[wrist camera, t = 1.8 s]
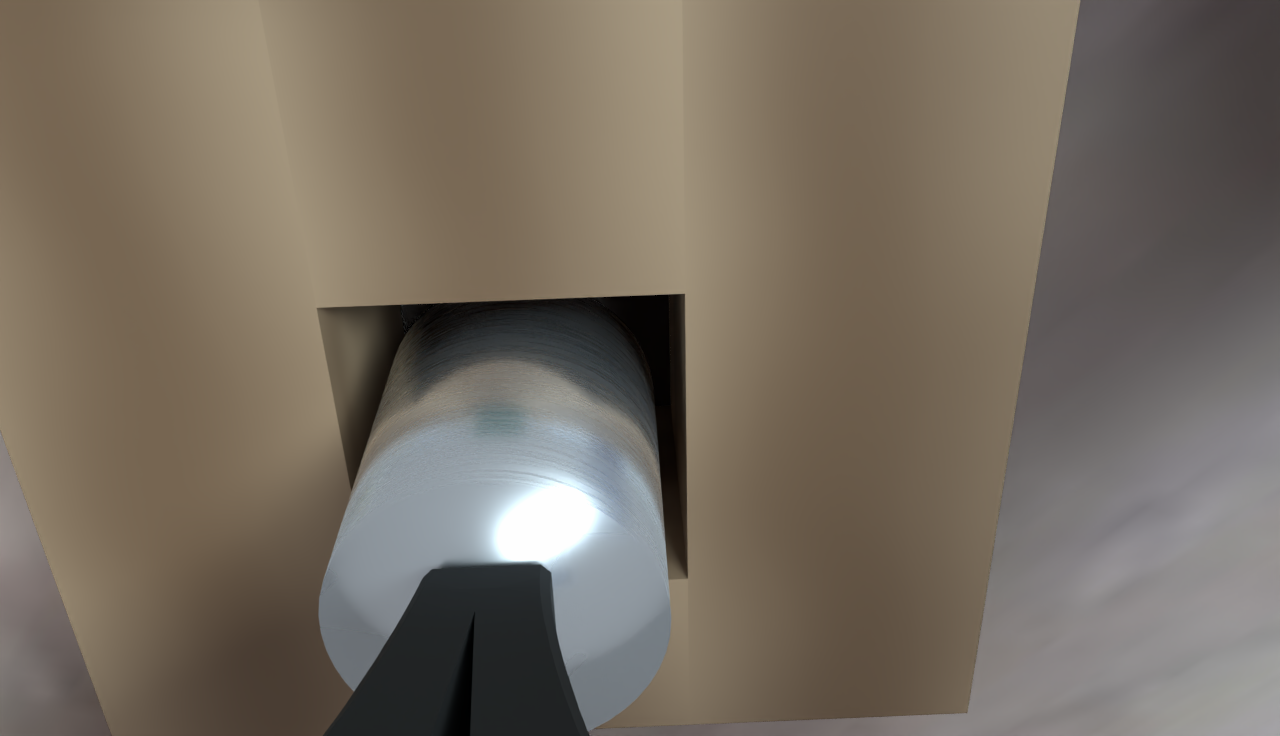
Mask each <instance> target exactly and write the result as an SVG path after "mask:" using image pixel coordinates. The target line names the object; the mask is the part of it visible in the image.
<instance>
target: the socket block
mask: <svg viewBox="0 0 1280 736" xmlns="http://www.w3.org/2000/svg"><path fill="white" fill-rule="evenodd" d="M1079 6H1080V0H0V431H1V434H2V436H3V439H4V442H5V445H6V447H7V450H8V453H9V456H10V458H11V461H12V464H13V467H14V469H15V472H16V475H17V478H18V480H19V483H20V486H21V489H22V491H23V494H24V497H25V500H26V502H27V505H28V508H29V511H30V513H31V516H32V519H33V522H34V524H35V527H36V530H37V532H38V535H39V538H40V541H41V543H42V546H43V549H44V552H45V554H46V557H47V560H48V563H49V565H50V568H51V571H52V574H53V576H54V579H55V582H56V585H57V587H58V590H59V593H60V596H61V598H62V601H63V604H64V607H65V609H66V612H67V615H68V618H69V620H70V623H71V626H72V629H73V631H74V634H75V637H76V639H77V642H78V645H79V648H80V650H81V653H82V656H83V659H84V661H85V664H86V667H87V670H88V672H89V675H90V678H91V681H92V683H93V686H94V689H95V692H96V694H97V697H98V700H99V703H100V705H101V708H102V711H103V714H104V716H105V719H106V722H107V725H108V727H109V730H110V733H111V736H323V735H324V733H325V732H326V731H327V729H328V728H329V727H330V725H331V724H332V723H333V721H334V720H335V719H336V717H337V716H338V714H339V713H340V712H341V710H342V709H343V707H344V706H345V705H346V703H347V702H348V700H349V699H350V697H351V696H352V694H353V693H354V691H353V690H352V689H351V688H350V687H349V686H348V685H347V684H346V682H345V681H344V680H343V678H342V677H341V675H340V674H339V673H338V671H337V670H336V668H335V667H334V665H333V663H332V661H331V659H330V657H329V655H328V653H327V651H326V648H325V645H324V642H323V638H322V635H321V630H320V623H319V597H320V592H321V588H322V583H323V579H324V576H325V573H326V570H327V567H328V564H329V561H330V557H331V554H332V551H333V548H334V545H335V542H336V539H337V536H338V533H339V529H340V526H341V523H342V520H343V517H344V514H345V511H346V508H347V504H348V501H349V498H350V495H351V492H352V489H353V486H354V483H355V479H356V476H357V473H358V470H359V467H360V464H361V461H362V458H363V454H364V451H365V448H366V445H367V442H368V439H369V436H370V433H371V430H372V426H373V423H374V420H375V417H376V414H377V411H378V408H379V405H380V401H381V398H382V395H383V392H384V389H385V386H386V383H387V380H388V376H389V373H390V370H391V367H392V364H393V361H394V358H395V356H396V353H397V351H398V348H399V346H400V344H401V342H402V340H403V339H404V337H405V334H404V327H403V320H402V314H401V307H400V305H403V304H429V303H456V302H482V301H508V300H534V299H560V298H586V297H612V296H638V295H664V294H669V340H670V397H671V405H667V406H655V412H656V425H657V438H658V451H659V464H660V477H661V490H662V503H663V516H664V529H665V542H666V555H667V568H668V581H669V594H670V607H671V631H670V639H669V643H668V647H667V651H666V654H665V656H664V659H663V661H662V663H661V666H660V668H659V670H658V671H657V673H656V675H655V676H654V678H653V679H652V681H651V683H650V684H649V685H648V686H647V688H646V689H645V690H644V691H643V692H642V693H641V695H640V696H639V697H638V698H637V699H636V700H635V701H634V702H632V703H631V704H630V705H629V706H628V707H627V708H626V709H625V710H623V711H622V712H620V713H619V714H617V715H616V716H615V717H613V718H612V719H610V720H609V721H607V722H605V723H603V724H601V725H599V726H598V727H596V728H594V729H601V728H625V727H648V726H672V725H695V724H719V723H743V722H766V721H790V720H813V719H837V718H860V717H884V716H907V715H931V714H954V713H967V712H968V706H969V699H970V693H971V687H972V680H973V674H974V668H975V662H976V655H977V649H978V643H979V636H980V630H981V624H982V617H983V611H984V605H985V599H986V592H987V586H988V580H989V573H990V567H991V561H992V554H993V548H994V542H995V536H996V529H997V523H998V517H999V510H1000V504H1001V498H1002V491H1003V485H1004V479H1005V473H1006V466H1007V460H1008V454H1009V447H1010V441H1011V435H1012V428H1013V422H1014V416H1015V410H1016V403H1017V397H1018V391H1019V384H1020V378H1021V372H1022V365H1023V359H1024V353H1025V347H1026V340H1027V334H1028V328H1029V321H1030V315H1031V309H1032V302H1033V296H1034V290H1035V284H1036V277H1037V271H1038V265H1039V258H1040V252H1041V246H1042V240H1043V233H1044V227H1045V221H1046V214H1047V208H1048V202H1049V195H1050V189H1051V183H1052V177H1053V170H1054V164H1055V158H1056V151H1057V145H1058V139H1059V132H1060V126H1061V120H1062V114H1063V107H1064V101H1065V95H1066V88H1067V82H1068V76H1069V69H1070V63H1071V57H1072V51H1073V44H1074V38H1075V32H1076V25H1077V19H1078V13H1079Z"/></svg>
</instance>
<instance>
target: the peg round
mask: <svg viewBox="0 0 1280 736" xmlns="http://www.w3.org/2000/svg"><path fill="white" fill-rule="evenodd" d="M540 564H541V565H542V566H544V567H545V568H546V569H547V570H549V571H550V572H551V574H552V585H553V597H554V609H555V620H556V632H557V637H558V641H559V645H560V650H561V653H562V657H563V660H564V664H565V667H566V671H567V674H568V677H569V680H570V683H571V686H572V689H573V692H574V695H575V698H576V701H577V704H578V707H579V710H580V712H581V715H582V717H583V720H584V723H585V725H586V728H587V730H588V731H590V730H592V729H594V728H596V727H598V726H599V725H601V724H603V723H605V722H607V721H609V720H610V719H612V718H613V717H615V716H616V715H617V714H619V713H620V712H622V711H623V710H625V709H626V708H627V707H628V706H629V705H630V704H631V703H632V702H634V701H635V700H636V699H637V698H638V697H639V696H640V695H641V693H642V692H643V691H644V690H645V689H646V688H647V686H648V685H649V684H650V683H651V681H652V679H653V678H654V676H655V675H656V673H657V671H658V670H659V668H660V666H661V663H662V661H663V659H664V656H665V654H666V651H667V647H668V643H669V639H670V631H671V607H670V594H669V581H668V568H667V555H666V542H665V529H664V516H663V503H662V490H661V477H660V464H659V451H658V438H657V425H656V412H655V399H654V388H653V378H652V374H651V371H650V367H649V363H648V361H647V358H646V356H645V354H644V351H643V349H642V348H641V346H640V344H639V343H638V341H637V339H636V338H635V336H634V335H633V334H632V332H631V331H630V330H629V329H628V327H627V326H626V325H625V324H624V323H623V322H622V321H621V320H620V319H619V318H618V317H617V316H616V315H615V314H614V313H613V312H612V311H610V310H609V309H607V308H606V307H605V306H603V305H602V304H600V303H599V302H598V301H596V300H594V299H592V298H590V297H586V298H560V299H534V300H508V301H482V302H456V303H437V304H435V305H434V306H432V307H431V308H429V309H428V310H427V311H426V312H425V313H424V314H423V315H422V316H421V317H420V318H419V319H418V320H417V321H416V322H415V323H414V324H413V326H412V327H411V328H410V329H409V331H408V332H407V334H406V335H405V337H404V339H403V340H402V342H401V344H400V346H399V348H398V351H397V353H396V356H395V358H394V361H393V364H392V367H391V370H390V373H389V376H388V380H387V383H386V386H385V389H384V392H383V395H382V398H381V401H380V405H379V408H378V411H377V414H376V417H375V420H374V423H373V426H372V430H371V433H370V436H369V439H368V442H367V445H366V448H365V451H364V454H363V458H362V461H361V464H360V467H359V470H358V473H357V476H356V479H355V483H354V486H353V489H352V492H351V495H350V498H349V501H348V504H347V508H346V511H345V514H344V517H343V520H342V523H341V526H340V529H339V533H338V536H337V539H336V542H335V545H334V548H333V551H332V554H331V557H330V561H329V564H328V567H327V570H326V573H325V576H324V579H323V583H322V588H321V592H320V597H319V623H320V630H321V635H322V638H323V642H324V645H325V648H326V651H327V653H328V655H329V657H330V659H331V661H332V663H333V665H334V667H335V668H336V670H337V671H338V673H339V674H340V675H341V677H342V678H343V680H344V681H345V682H346V684H347V685H348V686H349V687H350V688H351V689H352V690H353V691H355V690H356V688H357V687H358V685H359V684H360V682H361V681H362V679H363V678H364V676H365V675H366V673H367V672H368V670H369V669H370V667H371V666H372V664H373V663H374V661H375V660H376V658H377V656H378V655H379V653H380V652H381V650H382V648H383V647H384V645H385V644H386V642H387V640H388V639H389V637H390V635H391V634H392V632H393V631H394V629H395V627H396V625H397V624H398V622H399V620H400V619H401V617H402V615H403V613H404V612H405V610H406V608H407V606H408V605H409V603H410V601H411V599H412V597H413V596H414V594H415V592H416V590H417V588H418V586H419V584H420V582H421V580H422V578H423V577H424V576H425V575H426V574H427V573H428V572H429V571H430V570H431V569H443V568H468V567H492V566H516V565H540Z"/></svg>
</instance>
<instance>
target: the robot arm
mask: <svg viewBox="0 0 1280 736" xmlns="http://www.w3.org/2000/svg"><path fill="white" fill-rule="evenodd" d="M323 736H590V735H589V733H588V730H587V728H586V725H585V723H584V720H583V717H582V715H581V712H580V710H579V707H578V704H577V701H576V698H575V695H574V692H573V689H572V686H571V683H570V680H569V677H568V674H567V671H566V667H565V664H564V660H563V657H562V653H561V650H560V645H559V641H558V637H557V632H556V620H555V609H554V597H553V585H552V574H551V572H550V571H549V570H547V569H546V568H545V567H544V566H542V565H541V564H540V565H516V566H492V567H468V568H443V569H431V570H430V571H429V572H428V573H427V574H426V575H425V576H424V577H423V578H422V580H421V582H420V584H419V586H418V588H417V590H416V592H415V594H414V596H413V597H412V599H411V601H410V603H409V605H408V606H407V608H406V610H405V612H404V613H403V615H402V617H401V619H400V620H399V622H398V624H397V625H396V627H395V629H394V631H393V632H392V634H391V635H390V637H389V639H388V640H387V642H386V644H385V645H384V647H383V648H382V650H381V652H380V653H379V655H378V656H377V658H376V660H375V661H374V663H373V664H372V666H371V667H370V669H369V670H368V672H367V673H366V675H365V676H364V678H363V679H362V681H361V682H360V684H359V685H358V687H357V688H356V690H355V691H354V693H353V694H352V696H351V697H350V699H349V700H348V702H347V703H346V705H345V706H344V707H343V709H342V710H341V712H340V713H339V714H338V716H337V717H336V719H335V720H334V721H333V723H332V724H331V725H330V727H329V728H328V729H327V731H326V732H325V733H324V735H323Z"/></svg>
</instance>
